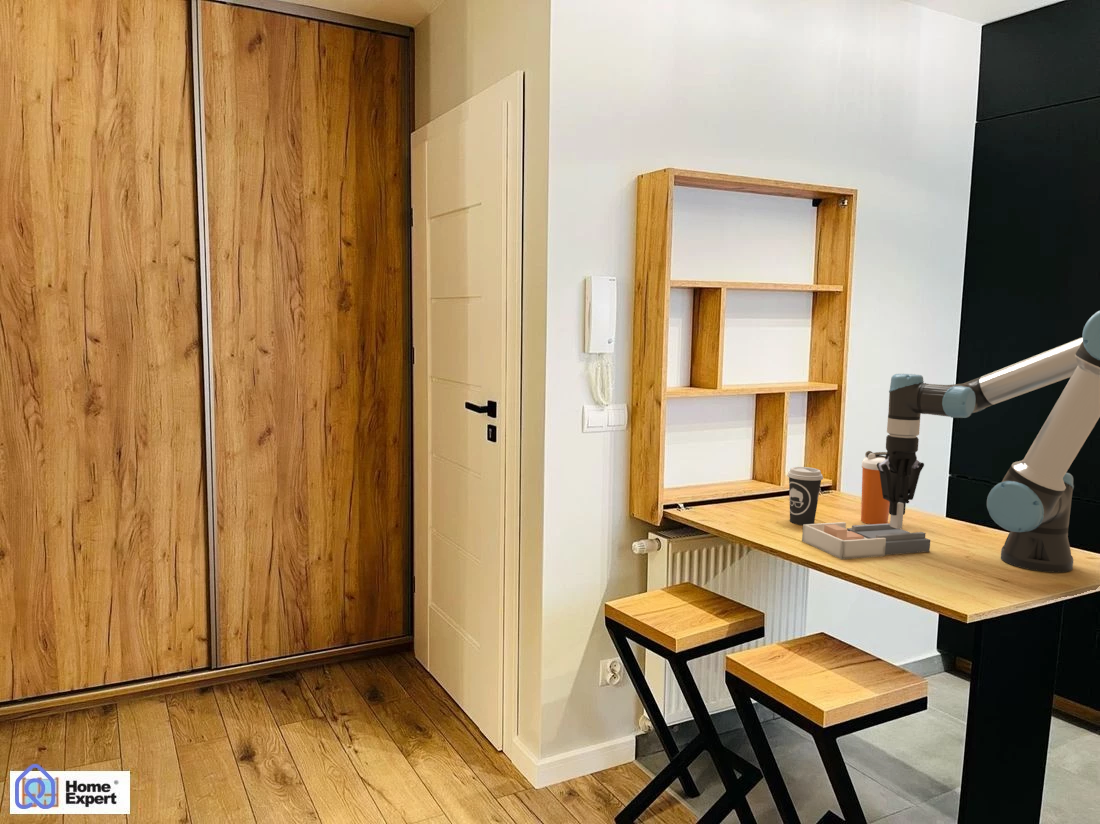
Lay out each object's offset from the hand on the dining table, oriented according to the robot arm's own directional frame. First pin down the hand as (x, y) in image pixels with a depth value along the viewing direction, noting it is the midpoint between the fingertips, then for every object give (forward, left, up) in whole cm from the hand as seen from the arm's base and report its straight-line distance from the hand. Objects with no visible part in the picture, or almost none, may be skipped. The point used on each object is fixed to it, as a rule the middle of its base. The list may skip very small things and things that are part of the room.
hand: (895, 527), depth 216 cm
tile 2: (0, +14, -4) cm, 14 cm away
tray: (0, +16, -5) cm, 16 cm away
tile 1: (0, +17, -2) cm, 17 cm away
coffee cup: (+25, +10, -5) cm, 28 cm away
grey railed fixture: (0, +2, -5) cm, 5 cm away
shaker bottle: (+21, -11, -5) cm, 25 cm away
